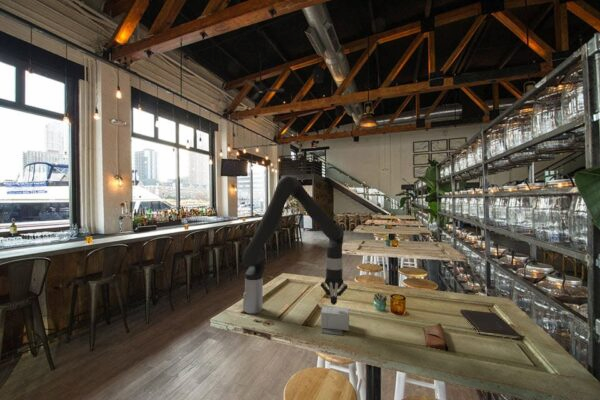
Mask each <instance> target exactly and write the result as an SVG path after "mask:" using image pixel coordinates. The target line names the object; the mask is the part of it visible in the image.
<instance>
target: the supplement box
mask: <svg viewBox="0 0 600 400" xmlns="http://www.w3.org/2000/svg"><path fill="white" fill-rule="evenodd" d="M320 328H321V329H323V328H328V329H337V330H343V331H350V308H348V307H336V306H327V305H326V306H323V305H322V308H321V311H320Z"/></svg>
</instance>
